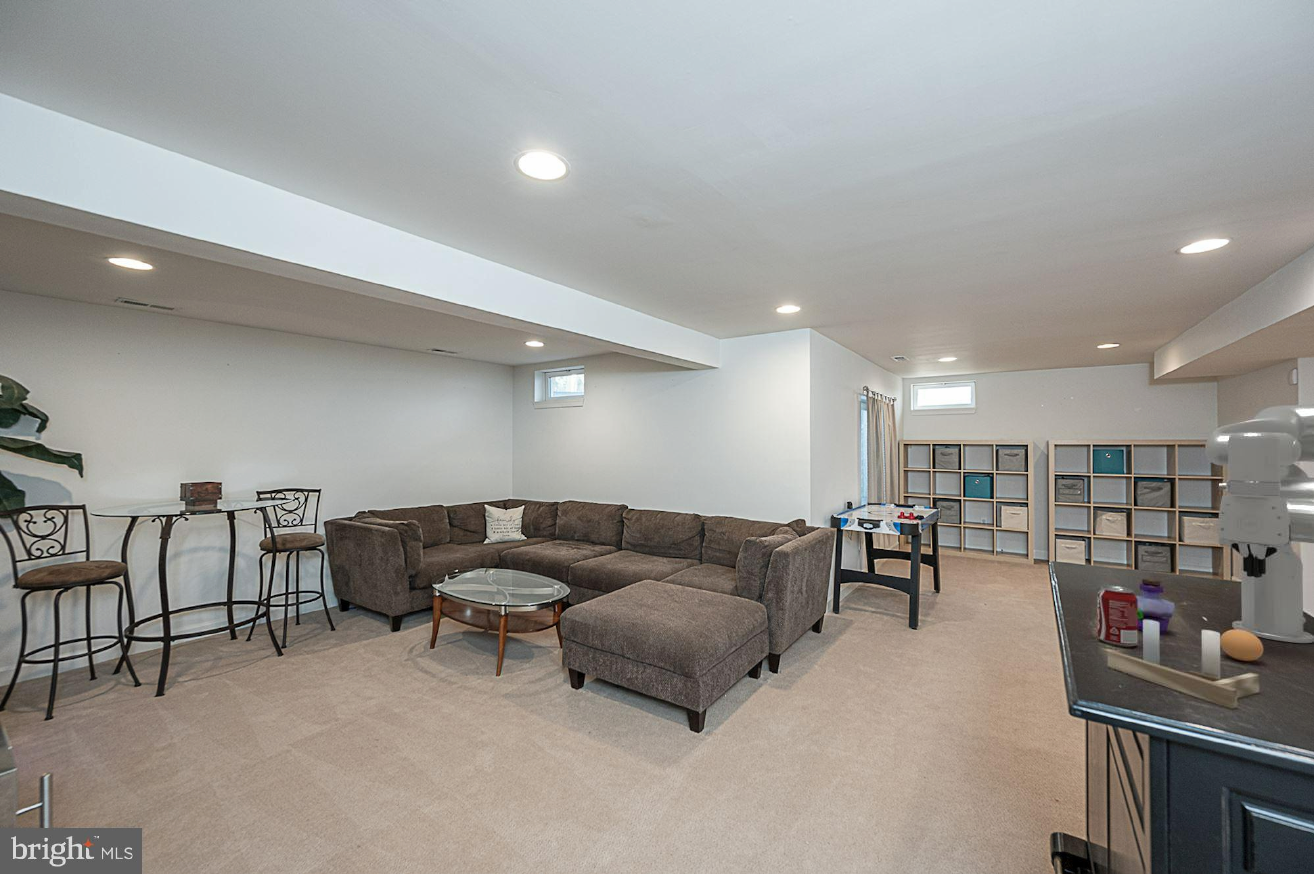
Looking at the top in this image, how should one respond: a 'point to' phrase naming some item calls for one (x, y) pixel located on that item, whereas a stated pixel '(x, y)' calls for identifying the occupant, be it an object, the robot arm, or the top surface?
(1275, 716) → the top surface
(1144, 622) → the grey pin
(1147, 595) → the potion bottle
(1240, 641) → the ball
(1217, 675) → the ivory pin
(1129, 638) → the soda can
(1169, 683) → the wooden t-square
